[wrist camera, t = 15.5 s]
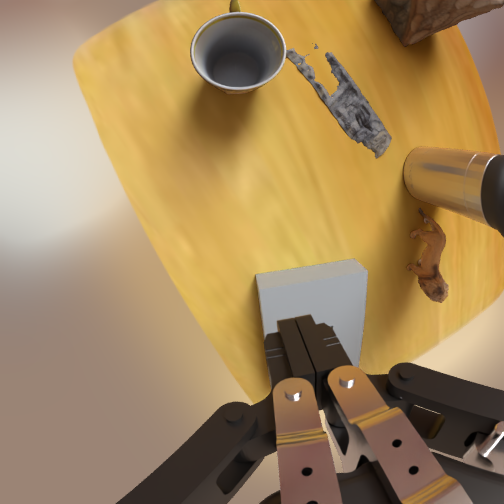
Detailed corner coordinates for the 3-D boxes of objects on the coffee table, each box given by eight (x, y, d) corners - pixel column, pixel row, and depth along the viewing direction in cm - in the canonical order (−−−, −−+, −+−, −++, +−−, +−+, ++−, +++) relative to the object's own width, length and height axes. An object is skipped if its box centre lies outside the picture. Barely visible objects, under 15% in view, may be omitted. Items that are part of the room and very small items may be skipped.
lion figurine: (426, 279, 46) (453, 301, 38) (404, 287, 46) (431, 311, 38) (427, 204, 41) (461, 217, 33) (404, 209, 41) (438, 224, 33)
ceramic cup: (274, 104, 35) (290, 88, 25) (201, 109, 34) (192, 94, 25) (267, 25, 30) (279, -8, 21) (196, 29, 30) (188, -4, 20)
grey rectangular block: (354, 258, 43) (367, 270, 39) (348, 360, 51) (356, 376, 46) (255, 274, 43) (259, 289, 38) (268, 376, 50) (272, 395, 46)
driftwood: (392, 145, 38) (400, 145, 36) (363, 167, 39) (369, 168, 37) (316, 37, 32) (320, 31, 30) (282, 55, 33) (284, 50, 31)
